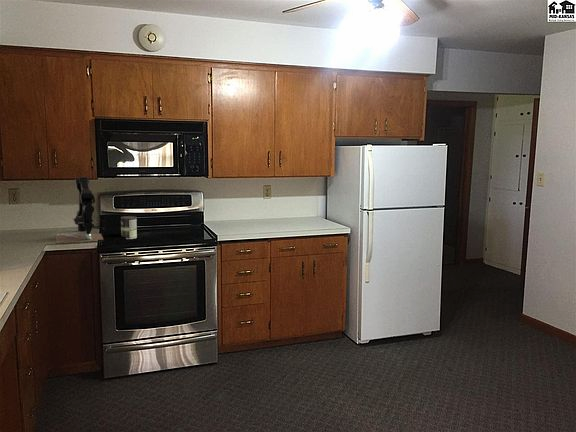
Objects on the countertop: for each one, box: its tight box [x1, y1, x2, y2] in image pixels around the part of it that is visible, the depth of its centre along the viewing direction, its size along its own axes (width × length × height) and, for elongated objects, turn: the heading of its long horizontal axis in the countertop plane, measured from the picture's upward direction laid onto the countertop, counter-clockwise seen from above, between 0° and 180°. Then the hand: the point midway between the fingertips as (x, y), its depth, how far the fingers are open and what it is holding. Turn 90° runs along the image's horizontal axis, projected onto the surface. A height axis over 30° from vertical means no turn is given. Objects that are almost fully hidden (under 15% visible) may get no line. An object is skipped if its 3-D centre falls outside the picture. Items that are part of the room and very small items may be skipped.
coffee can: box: [120, 215, 138, 240], centre depth 335 cm, size 10×10×14 cm
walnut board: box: [55, 233, 104, 245], centre depth 325 cm, size 20×28×2 cm
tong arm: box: [64, 233, 93, 241], centre depth 323 cm, size 22×3×4 cm, turn 70°
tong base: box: [56, 232, 87, 237], centre depth 330 cm, size 5×20×2 cm, turn 115°
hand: (88, 235), depth 322 cm, fingers closed
